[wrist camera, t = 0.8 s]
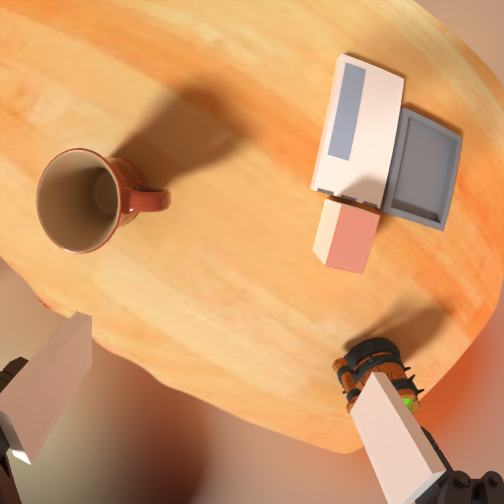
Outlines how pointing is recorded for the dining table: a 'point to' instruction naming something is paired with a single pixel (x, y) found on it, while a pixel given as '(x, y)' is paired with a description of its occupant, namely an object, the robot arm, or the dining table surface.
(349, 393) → the mug
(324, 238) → the block
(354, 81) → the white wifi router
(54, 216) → the mug
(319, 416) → the dining table surface
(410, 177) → the tray
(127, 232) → the dining table surface
